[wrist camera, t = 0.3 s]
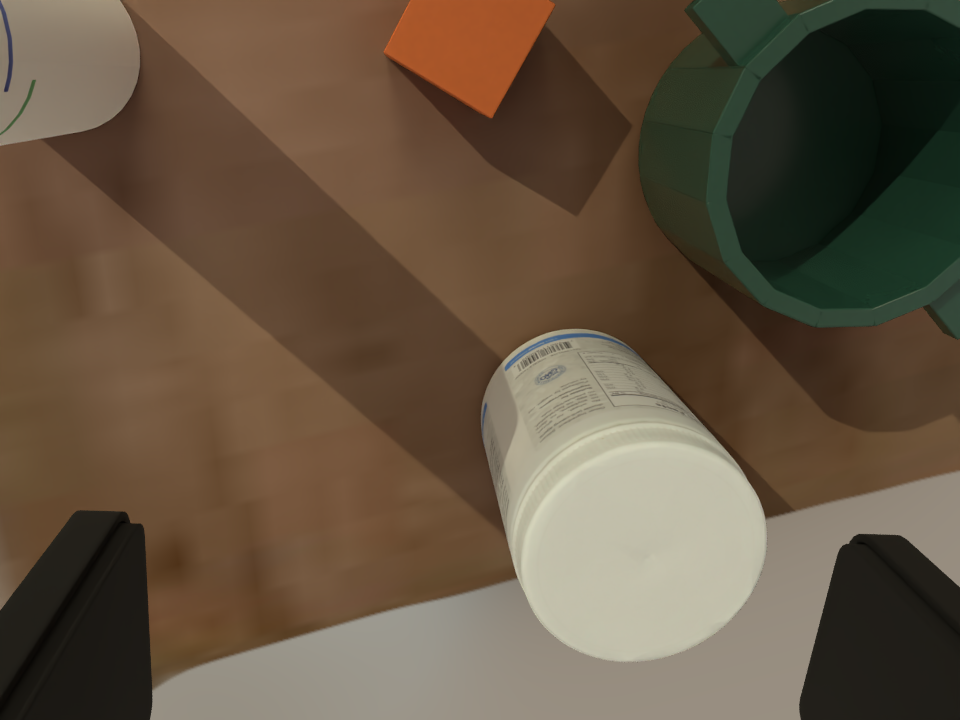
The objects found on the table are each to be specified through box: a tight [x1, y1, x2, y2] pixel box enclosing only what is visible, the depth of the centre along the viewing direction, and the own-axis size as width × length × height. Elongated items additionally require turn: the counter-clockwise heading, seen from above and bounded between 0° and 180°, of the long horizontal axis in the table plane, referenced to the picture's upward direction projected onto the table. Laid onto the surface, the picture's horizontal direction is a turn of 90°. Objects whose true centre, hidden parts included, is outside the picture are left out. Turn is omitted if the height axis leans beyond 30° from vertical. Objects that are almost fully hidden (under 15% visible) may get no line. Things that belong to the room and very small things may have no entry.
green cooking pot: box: [639, 0, 960, 340], centre depth 35 cm, size 13×18×10 cm
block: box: [384, 0, 555, 118], centre depth 34 cm, size 5×5×5 cm
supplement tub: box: [481, 329, 767, 662], centre depth 36 cm, size 10×10×15 cm
